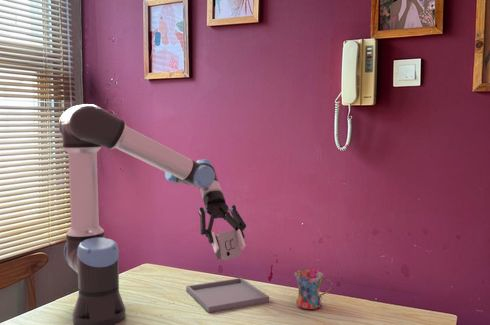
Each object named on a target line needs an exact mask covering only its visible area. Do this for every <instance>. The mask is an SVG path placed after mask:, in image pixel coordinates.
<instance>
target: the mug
mask: <svg viewBox="0 0 490 325" xmlns="http://www.w3.org/2000/svg"><path fill="white" fill-rule="evenodd" d="M294 276H295V279H296V282H297V286H298V294H297V299H296V300H295V304H296V306H297V307H299V308H301V309H304V310H316V309H319V308H321V307H322V305H323V302H322V301H321V300H322V299H323V296H325V295H326V294H327V293H329V291H330V290H331V288H332V287H333V283H332V281H331V279H328V278H325V279H324V276H325V275H324V274H323V273H322V272H321V271H318V270H313V269H302V270H297V271H295V272H294ZM324 282H329V283H330V286H329V288H328V289H327V290H326V291H325V292H322V293H320V289H321V286H322V284H323V283H324Z"/></svg>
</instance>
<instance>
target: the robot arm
mask: <svg viewBox="0 0 490 325" xmlns="http://www.w3.org/2000/svg"><path fill="white" fill-rule="evenodd" d="M58 127H59V132H60V133H61V136H62V149H63V150H64V151H65V152H66V153H67V154H68V155H67V156H68V175H69V176H68V178H69V202H70V204H69V205H70V228H69V229H68V230H67V231H66V233H65V234H66V237H65V238H66V242H65V245H64V248H63V257H64V260H65V262H66V264H67V265H68V266H69V267H70V268H71V269H72V270H73V271H74V272H75V273H76V274H77V282H78V296H77V299H76V302H75V306H74V309H73V311H72V322H73V324H74V325H116V324H118V323H120V322H121V321H122V320H124V319H125V317H126V306H125V304H124V301H123V298H122V296H121V293H120V272H119V270H120V269H119V268H120V267H119V266H120V264H119V263H120V262H119V261H120V259H119V258H120V251H119V245H118V243H117V242H116V241H115V240H113V239H110V238H106V237H105V229H103V228H102V226H100V217H99V216H100V215H99V185H98V184H99V183H98V156H97V153H98V152H99V151H100V150H101V148H102V146H103V147H105V148H107V149H109V150H113V149H117V150H119V151H120V152H123V153H125V154H127V155H129V156H131V157H133V158H136V159H137V160H139V161H142V162H144V163H146V164H148V165H151V166H152V167H154V168H157V169H158V170H161V171H163V172H164V177H165V179H166V181H167V182H169V183H173V184H183V185H188V186H193V187H197V188H199V191H200V195H201V198H202V201H203V204H204V208H203V207H199V210H198V215H199V222H200V223H199V225H200V235H201V236H203V235H205V237H206V238H207V240H208V244H211V245H212V248H213V252H214V254H216V253H217V251H218V249H219V247H218V243H217V240H216V237H215V236H216V235H215V231H213V225H214V221H215V220H216V219H223V221H225V222H227V223H228V224H229V225H230V226H231V227H232V229H233V230H236V233H237V239H238V242H239V247H240V251H242V250H244V249H245V248H246V243H245V242H246V241H245V240H244V239H245V236H246V235H245V233H244V231H245V229H246V228H247V225H246V223H245V221H244V219H243V218H242V217H241V215H240V214H239V212H238V210H237V207H236V205H235V204H233V205H232V206H231V205H230V206H229V205H228V204H227V203H226V198H225V196H224V194H223V190H222V188H221V184H220V182H219V179H218V175H217V173H216V169H215V167H214V165H213V163H212V161H211V160H209V159H207V158H203V159H198V160H196V161H195V160H192V159H191V158H189V157H187V156H186V155H183V154H182V153H179V152H178V151H176V150H174V149H171V147H168V146H166V145H164V144H162V143H160V142H158V141H157V140H155V139H152V138H151V137H148V136H147V135H145V134H143V133H141V132H140V131H136V130H135V129H133V128H132V127H129V126H127V122H126V121H125V120H123V119H121V118H119V117H117V116H116V115H115V114H113V113H111V112H109V111H107V110H106V109H104V108H102V107H100V106H98V105H95V104H90V103H89V104H88V103H86V104H85V103H84V104H79V105H73V106H71V107H68V108H67V109H66V110H65V111H64V112H63V113H62V114H61V116H60V117H59V121H58ZM206 213H207V214H208V215H209V221H208V225H207V224H206ZM206 225H207V226H206Z"/></svg>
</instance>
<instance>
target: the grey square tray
mask: <svg viewBox="0 0 490 325" xmlns="http://www.w3.org/2000/svg"><path fill="white" fill-rule="evenodd" d="M185 287H186V293H187V294H188V295H189V296H191V298H192V299H193V300H194V301H196V302H197V303H198V304H199V305H200V307H202V308H203V310H205V311H206V312H207V314H212V313H218V312H224V311H228V310H234V309H240V308H244V307H245V308H246V307H252V306H256V305H262V304H268V303H270V296H269V295H267V294H266V293H265V292H263V291H262V290H260V289H259V288H257V287H256V286H254V285H253V284H251V283H250V282H248V281H247V280H245V279H244V278H242V277H236V278H231V279H224V280H216V281H211V282H204V283H198V284H191V285H186V286H185Z"/></svg>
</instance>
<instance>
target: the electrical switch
mask: <svg viewBox="0 0 490 325" xmlns="http://www.w3.org/2000/svg"><path fill="white" fill-rule="evenodd" d="M236 232H237V231H236V230H235V229H231V230H230V229H229V230H227V231H223V232H222V231H221V232H219V233H216V235H215V237H216V240H217V243H218V247H219V249H218V251H217V253H215V254H216V259H217V260H222V262H226V261H229V260H232V259H235V258H238V257H240V256H241V255H242V252H241V251H242V250H241V248H240V245H239V242H238V239H237V233H236Z"/></svg>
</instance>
